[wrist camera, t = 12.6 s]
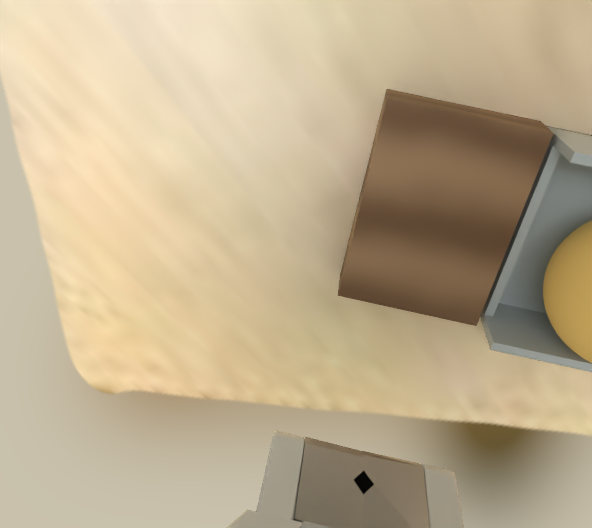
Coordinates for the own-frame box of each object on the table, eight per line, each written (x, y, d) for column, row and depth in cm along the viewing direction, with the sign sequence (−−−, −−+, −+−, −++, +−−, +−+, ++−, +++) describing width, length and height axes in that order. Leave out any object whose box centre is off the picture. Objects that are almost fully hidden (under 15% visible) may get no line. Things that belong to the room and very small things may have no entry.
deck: (386, 89, 36) (387, 98, 34) (540, 121, 36) (553, 133, 34) (340, 275, 43) (337, 295, 40) (469, 303, 43) (476, 325, 40)
